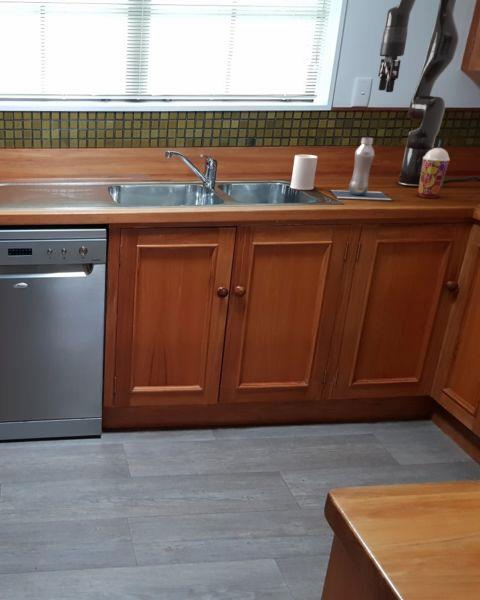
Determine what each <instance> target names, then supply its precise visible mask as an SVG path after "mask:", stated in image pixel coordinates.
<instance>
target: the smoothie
mask: <svg viewBox="0 0 480 600" xmlns="http://www.w3.org/2000/svg"><path fill="white" fill-rule="evenodd" d="M441 144H442V139H439V141H438V145H437V147H433V149H431V150H430V151H428V152H427V153H426V155H425V156H424V157H423V162H422V168H421V175H420V182H419V187H418V190H417V192H418V196H419V197H421V198H425V199H436V198H437V197H438V196H439V195H440V193H441V191H442V190H441V189H442V186H443V180H445V176H446V173H447V170H448V167H449V163H450V160H451V159H450V156H449V153H448V151H447V150H446V149H444V148H442V147H441Z"/></svg>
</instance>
